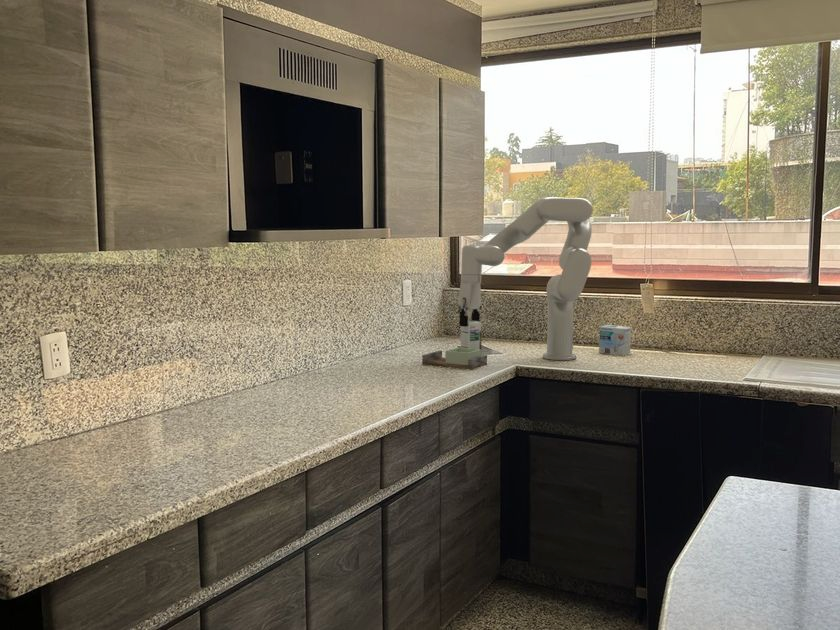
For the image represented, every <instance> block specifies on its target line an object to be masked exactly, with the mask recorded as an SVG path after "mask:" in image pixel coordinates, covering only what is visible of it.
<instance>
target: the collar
mask: <svg viewBox="0 0 840 630" xmlns="http://www.w3.org/2000/svg"><path fill="white" fill-rule="evenodd" d="M481 355H482V348H481V349H470V348H461V347H453V348H451V349H448V350H445V358H446V359H445V363H449V364H458V365H468V360H469V359H472V358H475V357H478V356H481Z"/></svg>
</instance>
